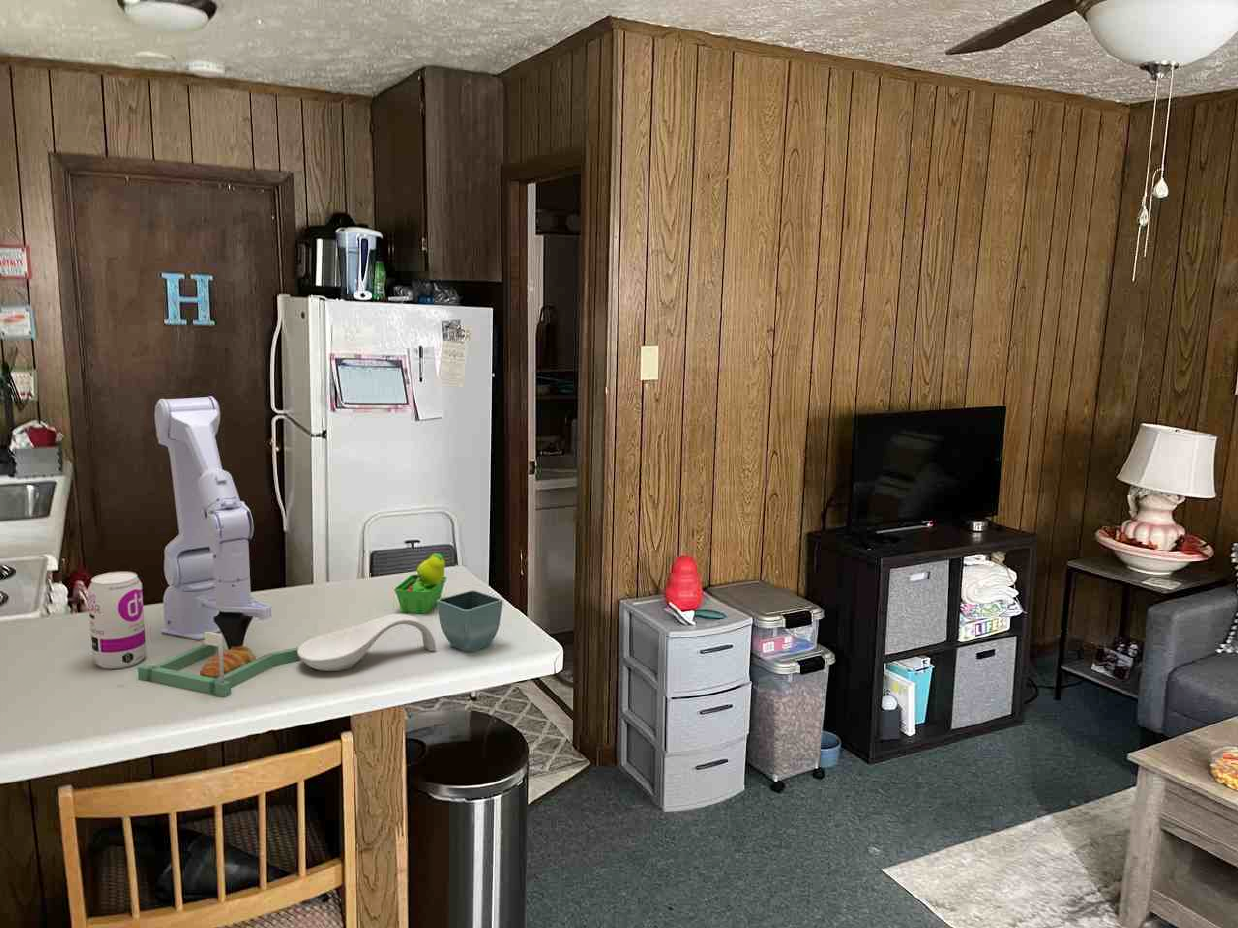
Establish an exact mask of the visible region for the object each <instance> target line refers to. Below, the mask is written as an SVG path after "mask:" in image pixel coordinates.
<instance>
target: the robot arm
mask: <svg viewBox="0 0 1238 928" xmlns="http://www.w3.org/2000/svg"><path fill="white" fill-rule="evenodd" d="M220 421H221V410H220V406H219V402H218V401H217V399H215V397H213V396H211V395H207V397H204V396H203V397H189V398H188V397H187V398H171V399H170V398H169V399H165V398H159V400H158V401H157V402H156V404H155V407H154V424H155V431H156V437H157V442H158V444H160V445H162V446H165V447H167V450H168V453H169V458H170V467H171V474H172V483H173V484H172V485H173V493H174V499H175V500H174V502H175V509H176V520H177V527H178V528H177V529H178V534H177V535H176V537H174V539H172V540H171V541H170V542H169V543H168V544H167V545H166V546H165V548H164V552H163V553H164V561H163V563H164V564H163V570H164V576H165V579H166V581H167V582H166V583H167V585H169V586H167V588H166V589H165V591H164V595H163V599H162V600H163V601H162V604H163V618H164V620H163V621H164V629H162V630H161V633H162V634H166V635H167V634H168V635H173V636H177V637H178V636H179V637H183V638H188V639H194V640H204V639H205V634H204V632H210V633H221V634H222V637H223V639H224V642H225V644H226V646H227V650H230V649H231V648H232V647H238V646H244V640H245V637H246V633H247V631H248V628H249V627H250V624H251V622H252V620H253V618H257V619H258V620H261V621H264V620H267V619H270V618H272V605H268V604H264V603H262V602H260V601H257V600H256V599H254V596H253V595H252V593H251V575H250V574H251V572H250V549H249V545H250V544H249V540H251V539H252V538H253V536H254V535H253V534H254V530H255V529H254V528H255V527H254V520H253V519H254V518H253V516H252V512H251V510H250V508H249V507H248V506H247V505H246V504H245V501H243V500H242V501H241V500H240V496H239V493H238V490H237V487H236V485H235V482H234V479H233V476H232V474H231V473H230V472H229V471H227V470H225V469H223V466H222V461H221V457H220V453H219V450H218V449H219V448H218V445H217V444H218V443H217V440H216V435H217V434H218V430H219V425H220V424H221V423H220ZM203 548H204V549H203ZM192 550H193V551H192Z"/></svg>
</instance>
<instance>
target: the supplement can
mask: <svg viewBox="0 0 1238 928" xmlns="http://www.w3.org/2000/svg"><path fill="white" fill-rule="evenodd" d="M143 597H144V595H143V583H142V581H141V580H140V577H138V574H137V573H136V572H132V571H113V572H107V573H102V574H98V575H96V576H93V577H92V578H91V580H90V583H89V585H88V587H87V600H88V601H87V602H88V611H89V614H88V615H89V625H90V639H91V648H92V649H91V650H92V661H93V663H94V664H95V665H97V666H98V667H100V668H101V669H109V670H112V669H113V670H114V669H115V670H117V669H124V668H129V667H131V666H135V665H137V664H139V663H140V662H142V661H143V660H144V658H145V657H147V654H148V653H147V641H146V626H145V611H144V598H143Z"/></svg>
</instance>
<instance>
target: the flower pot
mask: <svg viewBox="0 0 1238 928" xmlns="http://www.w3.org/2000/svg"><path fill="white" fill-rule="evenodd" d="M503 601H504V600H503V599H502V598H499V597H496V596H492V595H490V594H486V593H484V592H481V591H478V590H474V589H473V590H468V591H464V592H460V593H457V594H454V595H450V596H446V597H445V596H444V597H443V598H440V599H438V600H437V603H436V605H437V611H438V618H439V619H438V620H439V623H440V628H441V630H442V632H443V635H444V637H445V638H446V640H447V641H448V642H449V644H450V645H451V646H452V647H454V648H456V649H459V650H461V651H463V652H465V653H471V652H475V651H478V650H480V649H481V650H482V649H484V648H486V647H489V646H490V645H491V644H492V642H493V641H494V639H495V637H496V636H497V635H498V634H497V633H498V631H499V629H500V625H501V618H502V609H503V604H504V603H503Z"/></svg>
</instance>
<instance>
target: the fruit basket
mask: <svg viewBox="0 0 1238 928" xmlns="http://www.w3.org/2000/svg"><path fill="white" fill-rule="evenodd" d="M445 567H446V562H445V560H444V556H443V555H442V554H440V553H433V554H431V555H430V556H429V557H428V559H426V560H424V561H422V562H421V563H420V564H419V565H418V566H417V568H416V572H417V574H412V575H409V576H408V577H407V578H406V579H405V580H403V581H402V582H401V583H400V584H399V585H397V586H396V587H395V588H394V593H395V595H396V596H397V600H398V603H399V607H400V610H401V612H402V613H409V614H428V612H429V611H430V610H432V609H433V607H434V606H436V605H437V600H438V599H442V598H441V596H442V594H443V589H444V585H445V583H446V580H447V577H446V576H444V575H445Z"/></svg>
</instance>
